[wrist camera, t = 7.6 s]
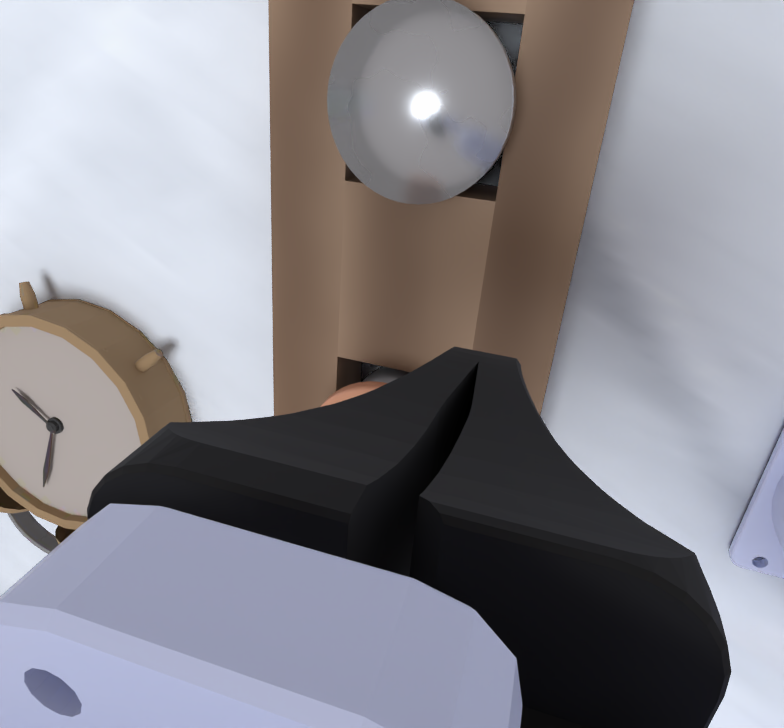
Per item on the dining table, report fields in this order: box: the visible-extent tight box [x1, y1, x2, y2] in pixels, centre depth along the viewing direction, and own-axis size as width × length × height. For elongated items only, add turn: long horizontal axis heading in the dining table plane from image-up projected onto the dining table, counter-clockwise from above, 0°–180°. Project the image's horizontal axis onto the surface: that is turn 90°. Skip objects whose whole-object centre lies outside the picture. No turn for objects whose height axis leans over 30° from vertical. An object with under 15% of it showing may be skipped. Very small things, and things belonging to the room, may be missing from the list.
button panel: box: [269, 0, 634, 416], centre depth 20 cm, size 10×22×3 cm, turn 176°
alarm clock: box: [0, 282, 192, 554], centre depth 30 cm, size 11×5×15 cm
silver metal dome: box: [327, 0, 516, 204], centre depth 17 cm, size 5×5×4 cm
